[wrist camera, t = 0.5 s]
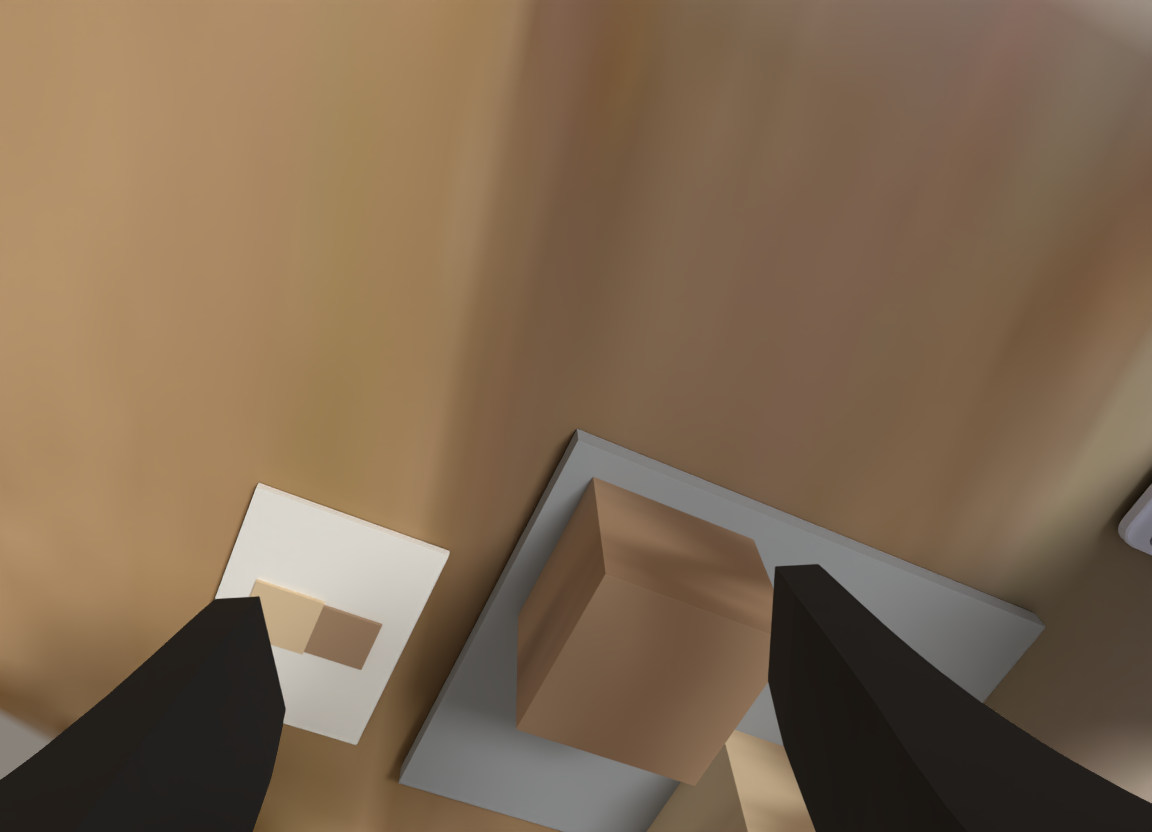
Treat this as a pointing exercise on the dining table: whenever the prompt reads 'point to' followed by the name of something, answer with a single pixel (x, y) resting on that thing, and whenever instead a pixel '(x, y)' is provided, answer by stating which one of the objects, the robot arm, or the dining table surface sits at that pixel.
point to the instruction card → (330, 604)
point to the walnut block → (644, 635)
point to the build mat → (635, 797)
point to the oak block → (739, 793)
